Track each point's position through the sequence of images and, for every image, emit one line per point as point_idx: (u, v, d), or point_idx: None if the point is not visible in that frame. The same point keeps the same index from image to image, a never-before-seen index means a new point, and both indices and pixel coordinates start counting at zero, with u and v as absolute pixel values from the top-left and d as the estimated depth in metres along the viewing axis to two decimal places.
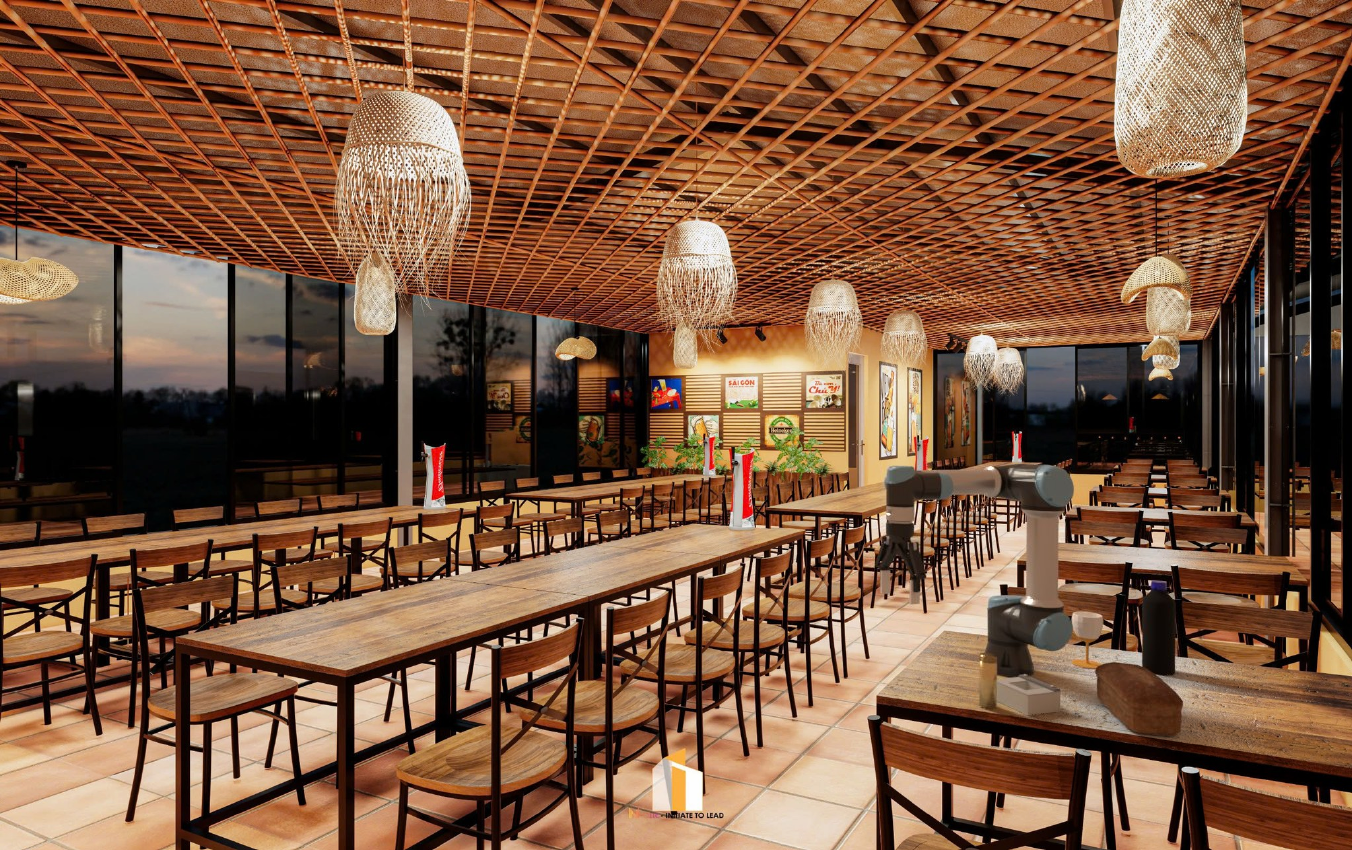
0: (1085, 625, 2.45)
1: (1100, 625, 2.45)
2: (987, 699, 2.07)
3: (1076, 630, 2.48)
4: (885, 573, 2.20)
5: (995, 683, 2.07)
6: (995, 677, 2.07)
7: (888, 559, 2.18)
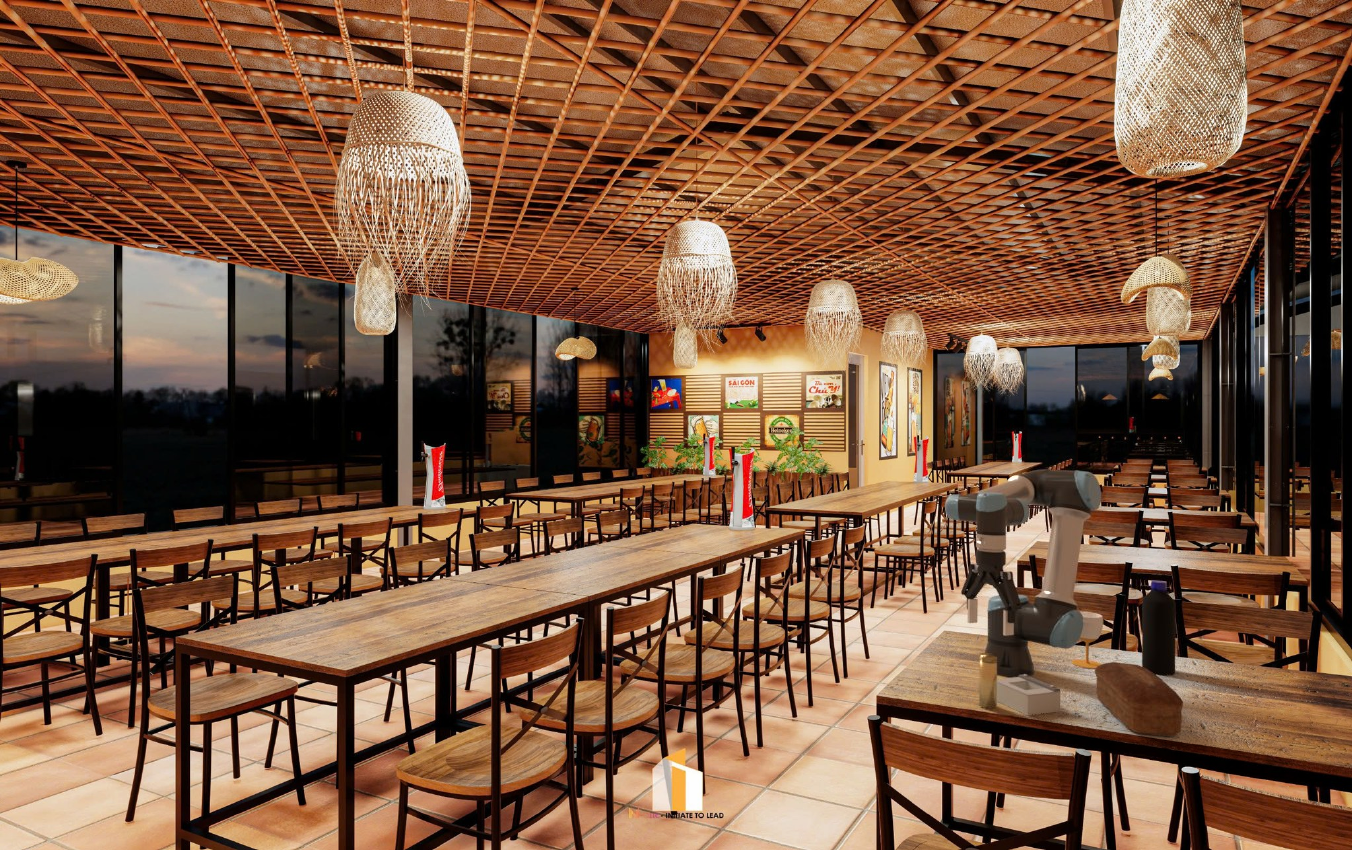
0: (1085, 625, 2.45)
1: (1100, 625, 2.45)
2: (987, 699, 2.07)
3: None
4: (973, 602, 2.15)
5: (995, 683, 2.07)
6: (995, 677, 2.07)
7: (977, 588, 2.13)
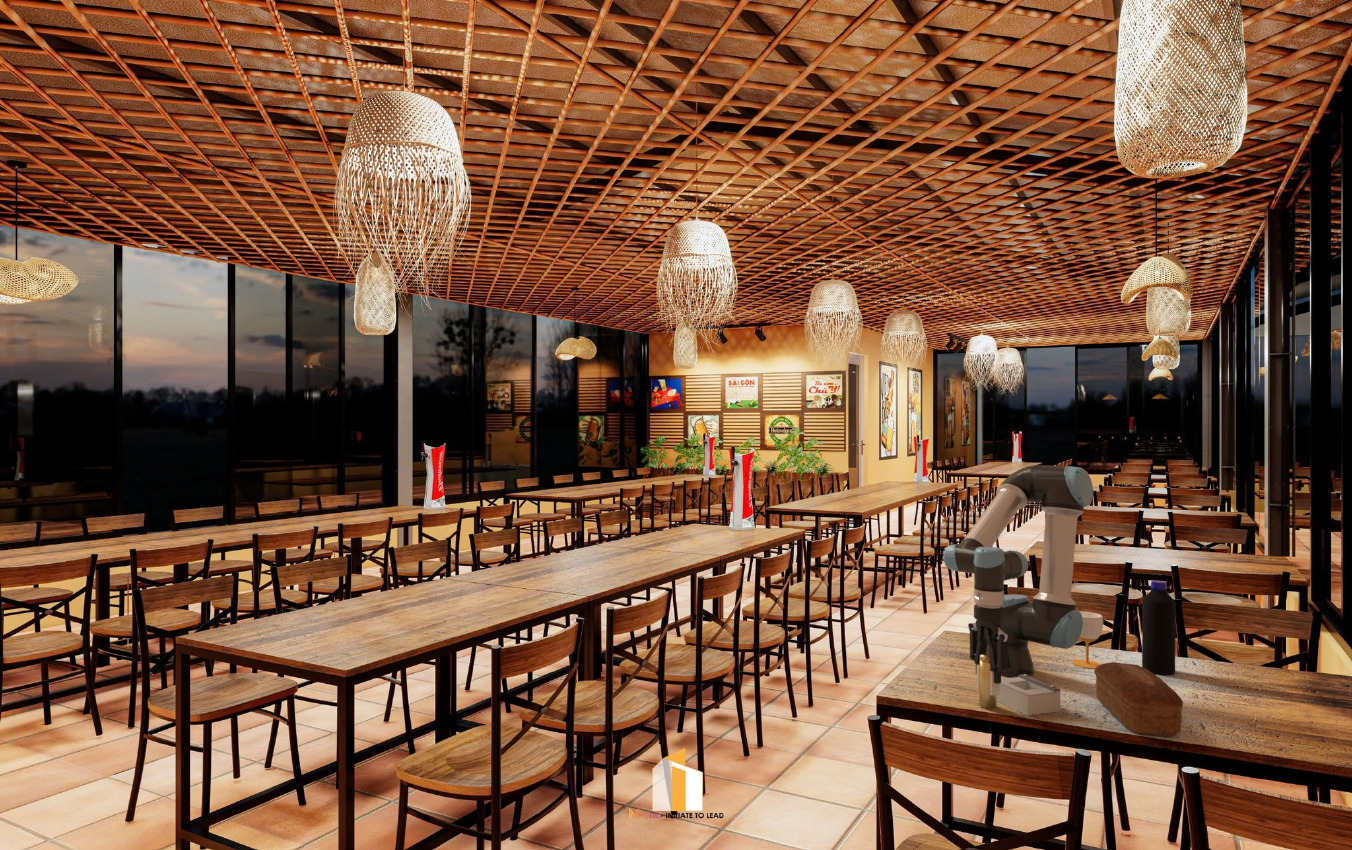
0: (1085, 625, 2.45)
1: (1100, 625, 2.45)
2: (987, 699, 2.07)
3: None
4: None
5: None
6: None
7: (981, 648, 2.11)
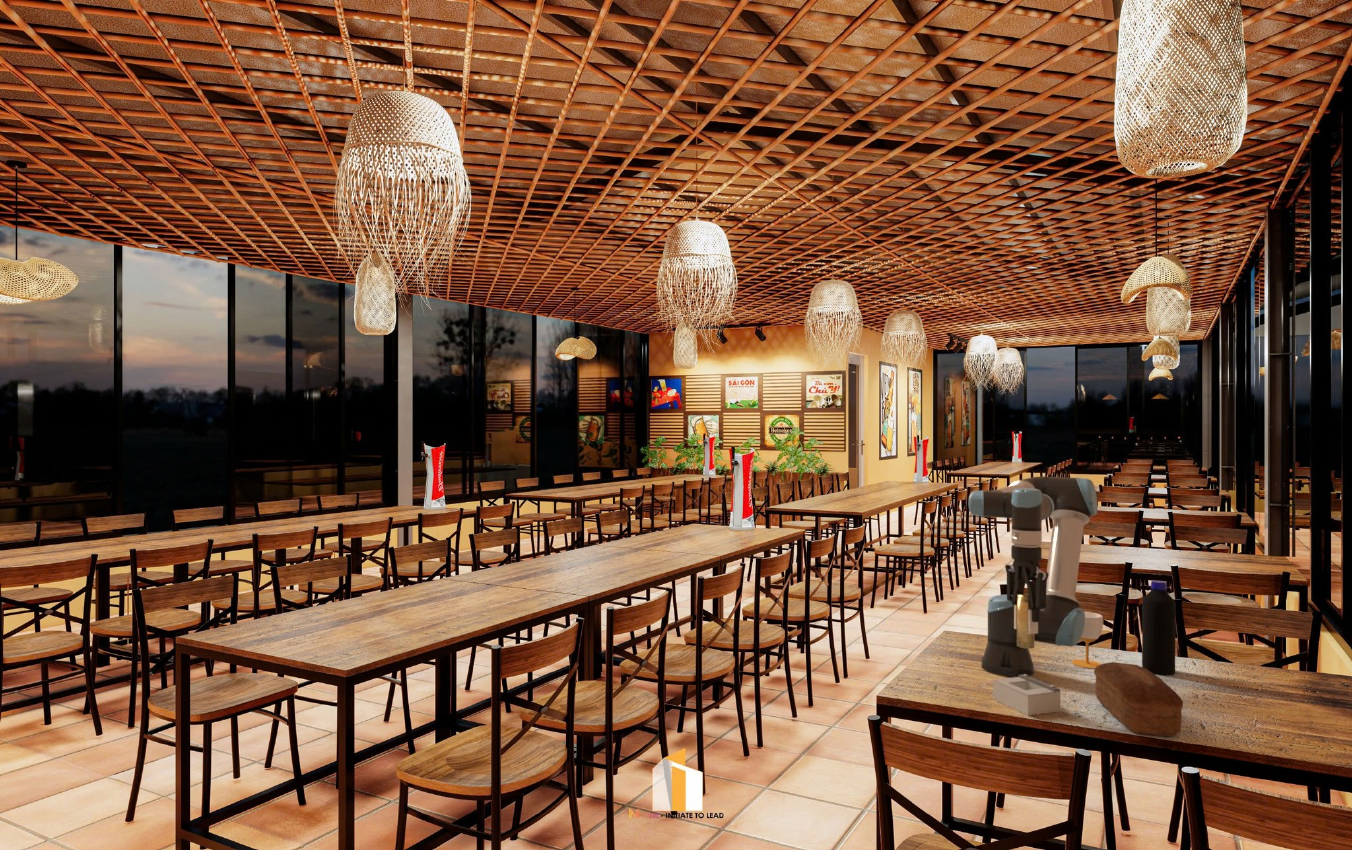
0: (1085, 625, 2.45)
1: (1100, 625, 2.45)
2: (1025, 638, 2.09)
3: None
4: None
5: None
6: None
7: (1019, 588, 2.12)
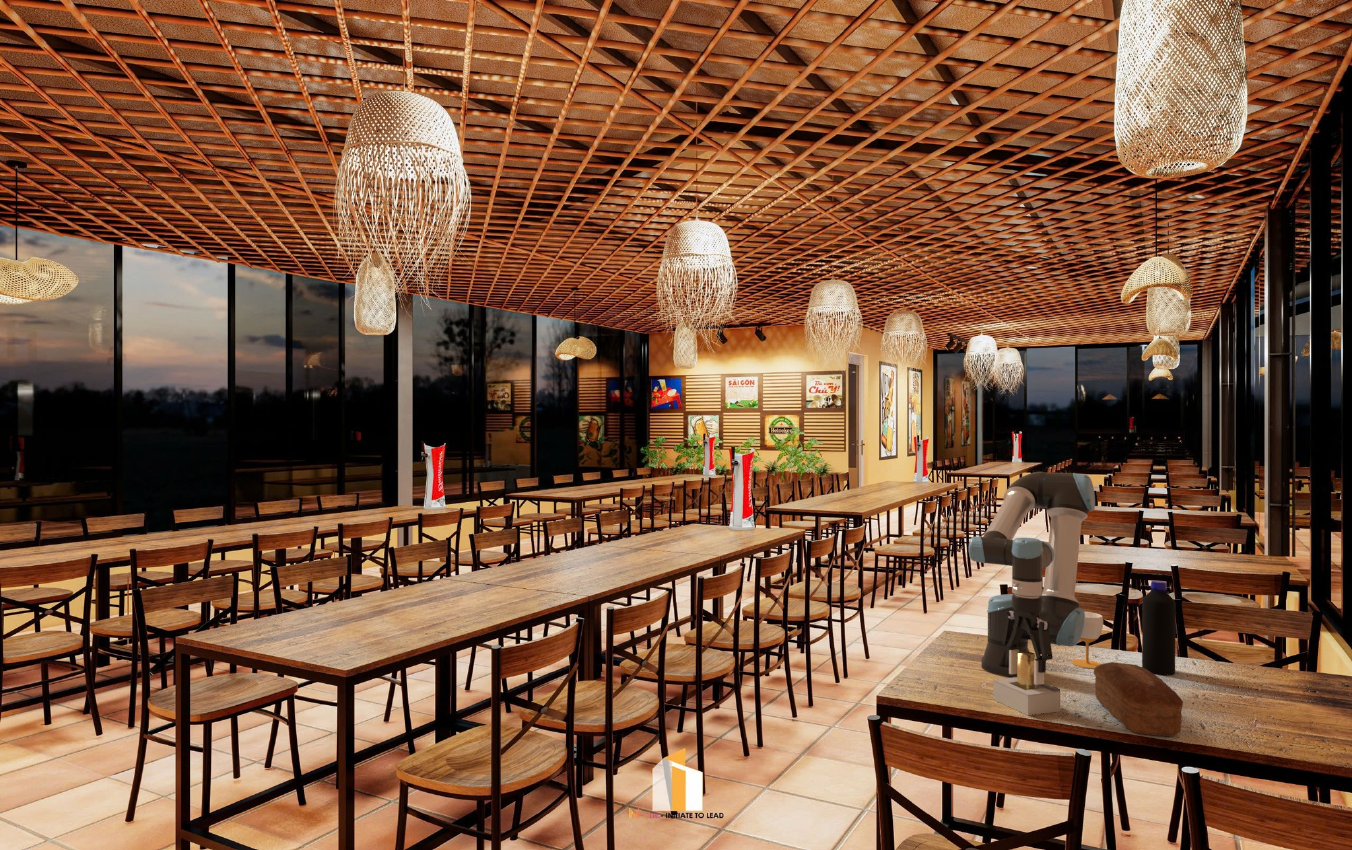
0: (1085, 625, 2.45)
1: (1100, 625, 2.45)
2: None
3: None
4: (1014, 653, 2.14)
5: (1033, 681, 2.09)
6: (1033, 675, 2.09)
7: (1016, 636, 2.13)
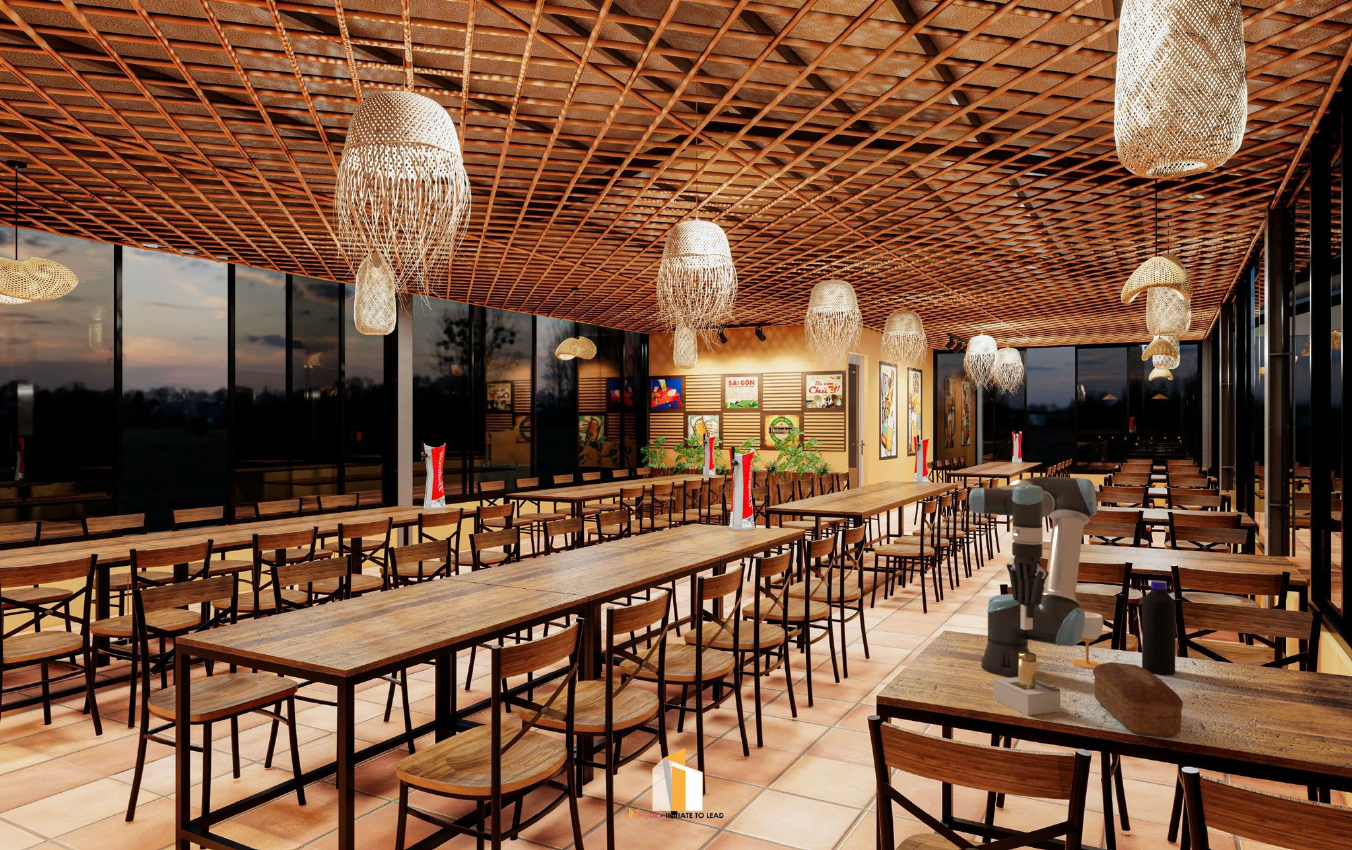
0: (1085, 625, 2.45)
1: (1100, 625, 2.45)
2: None
3: None
4: None
5: (1034, 682, 2.09)
6: (1034, 676, 2.09)
7: (1023, 586, 2.11)
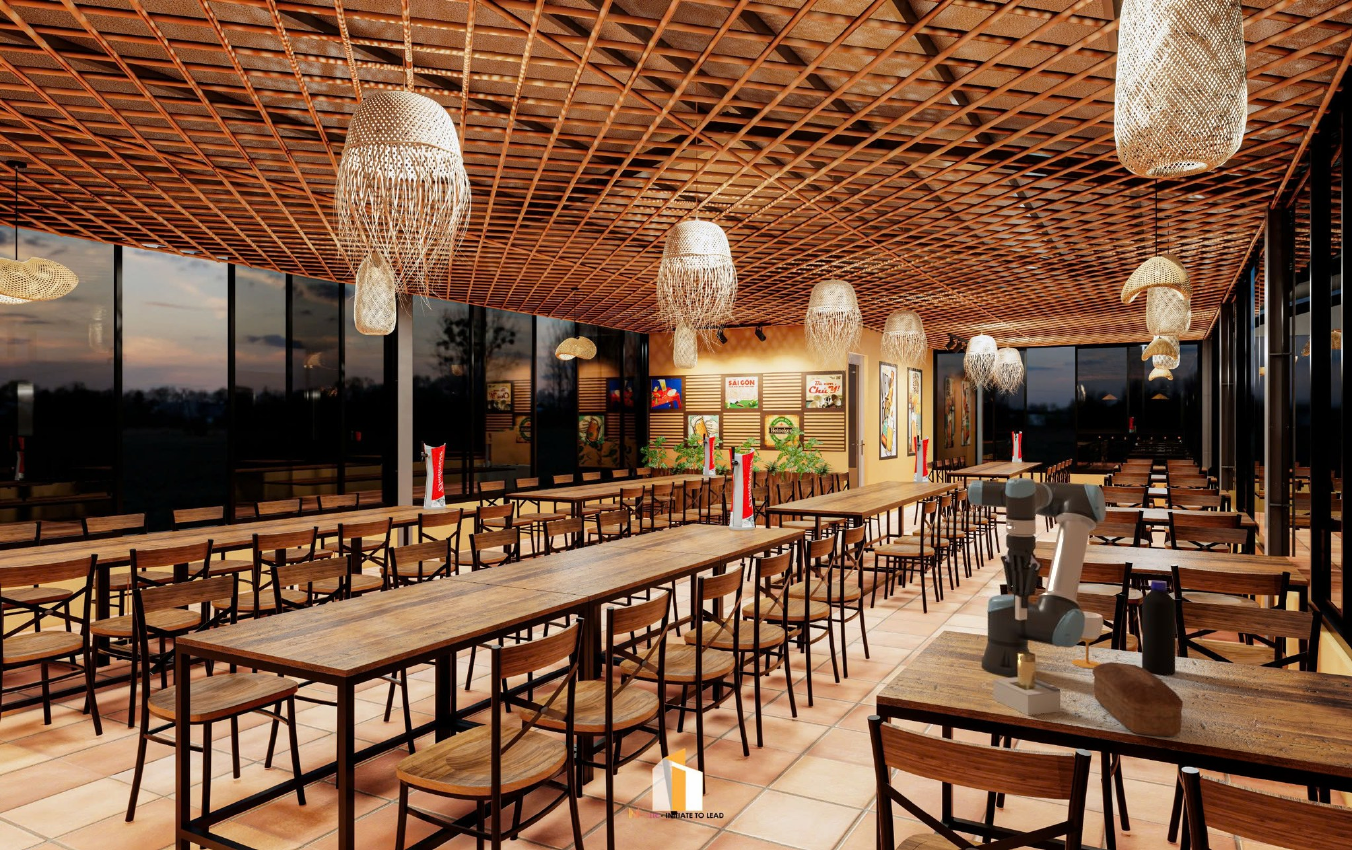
0: (1085, 625, 2.45)
1: (1100, 625, 2.45)
2: None
3: None
4: None
5: (1034, 682, 2.09)
6: (1034, 676, 2.09)
7: (1017, 577, 2.15)
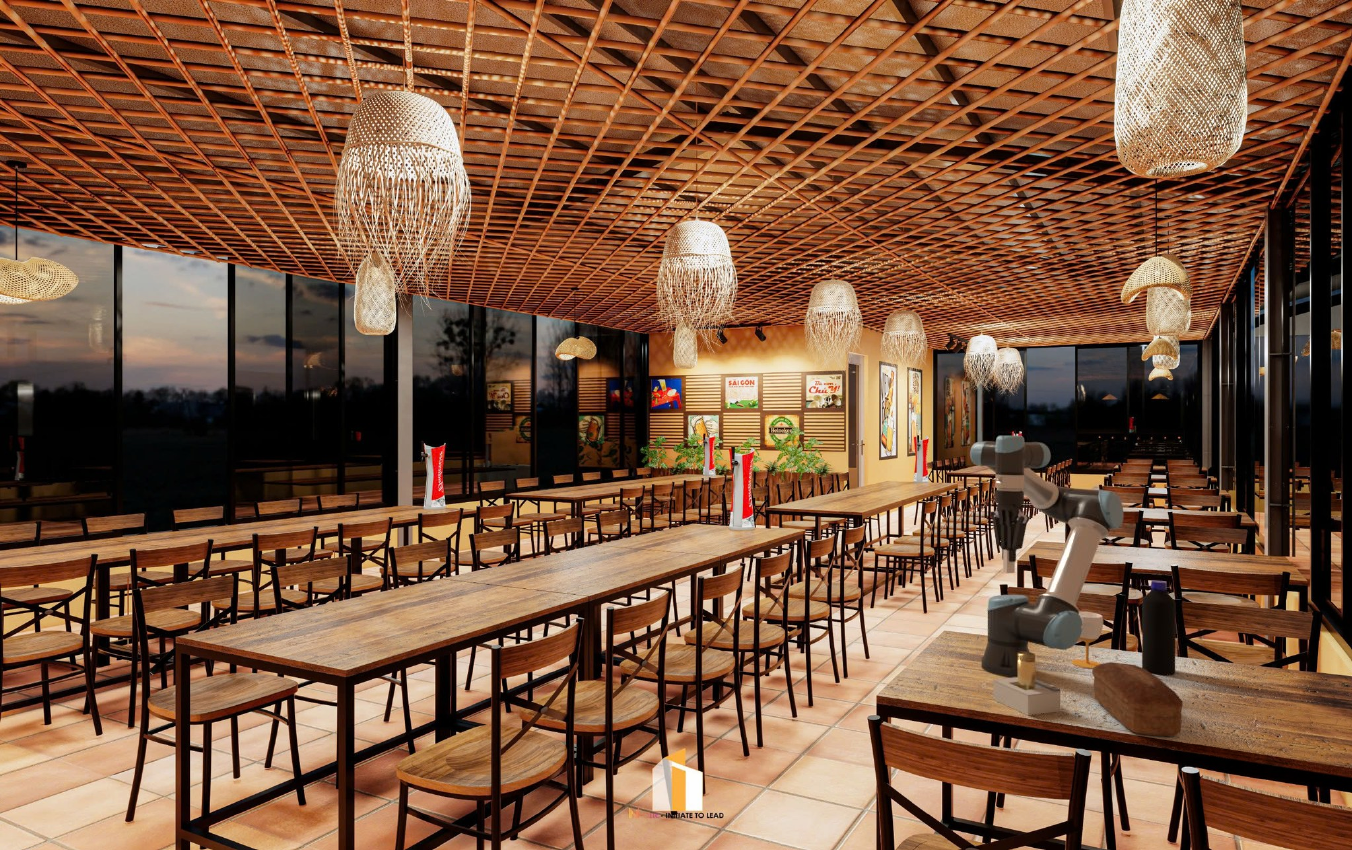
0: (1085, 625, 2.45)
1: (1100, 625, 2.45)
2: None
3: None
4: None
5: (1034, 681, 2.09)
6: (1034, 676, 2.09)
7: (1005, 532, 2.20)
